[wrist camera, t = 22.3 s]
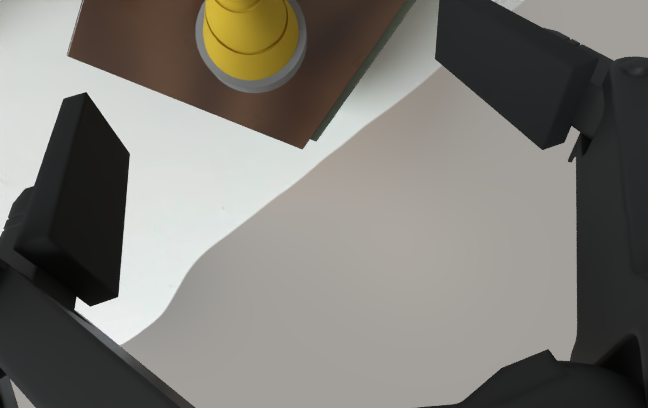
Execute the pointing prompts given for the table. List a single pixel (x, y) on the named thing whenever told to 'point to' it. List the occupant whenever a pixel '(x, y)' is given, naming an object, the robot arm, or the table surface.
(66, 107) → the robot arm
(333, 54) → the cabinet
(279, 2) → the drill bit
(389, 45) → the table surface
